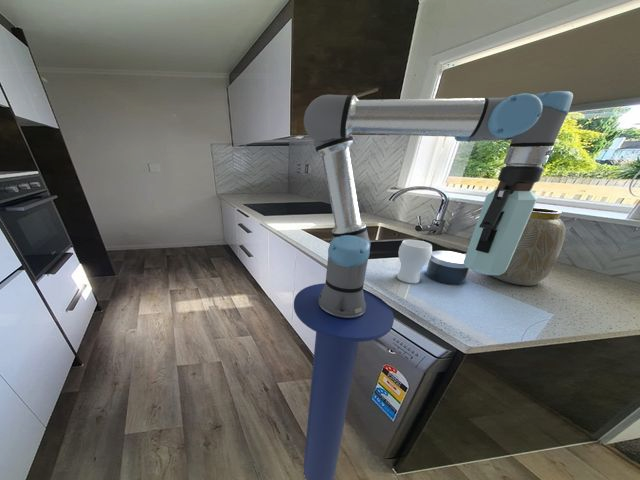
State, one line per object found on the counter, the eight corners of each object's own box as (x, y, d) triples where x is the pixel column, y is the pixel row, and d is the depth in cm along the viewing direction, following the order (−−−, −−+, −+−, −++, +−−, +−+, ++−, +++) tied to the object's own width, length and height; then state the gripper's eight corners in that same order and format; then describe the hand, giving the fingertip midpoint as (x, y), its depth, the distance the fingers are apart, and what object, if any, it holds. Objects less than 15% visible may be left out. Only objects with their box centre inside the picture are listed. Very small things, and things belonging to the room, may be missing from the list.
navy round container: (418, 274, 100) (423, 254, 97) (436, 267, 106) (442, 248, 102) (453, 288, 89) (461, 266, 86) (471, 280, 95) (479, 258, 91)
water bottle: (511, 280, 66) (554, 185, 56) (465, 272, 70) (497, 183, 61) (499, 266, 74) (535, 181, 64) (458, 260, 78) (486, 179, 69)
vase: (550, 280, 93) (585, 211, 83) (535, 293, 85) (572, 218, 75) (492, 265, 107) (516, 203, 97) (475, 274, 99) (499, 209, 89)
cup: (387, 275, 100) (394, 240, 94) (406, 271, 103) (415, 237, 97) (409, 287, 91) (418, 250, 85) (430, 282, 94) (441, 246, 88)
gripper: (524, 167, 53) (488, 260, 62) (561, 164, 63) (525, 245, 71) (482, 166, 59) (454, 250, 68) (521, 164, 69) (493, 238, 77)
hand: (491, 248), depth 69 cm, fingers closed on water bottle, 10 cm apart
